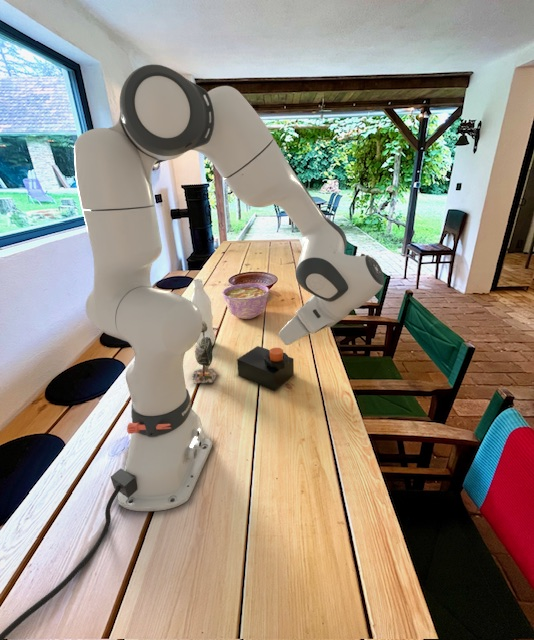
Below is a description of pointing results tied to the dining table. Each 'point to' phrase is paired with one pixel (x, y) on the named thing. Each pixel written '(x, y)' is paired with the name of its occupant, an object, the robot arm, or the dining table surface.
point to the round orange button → (276, 354)
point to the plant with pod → (204, 360)
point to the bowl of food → (246, 300)
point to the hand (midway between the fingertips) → (291, 334)
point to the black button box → (265, 368)
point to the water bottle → (203, 309)
